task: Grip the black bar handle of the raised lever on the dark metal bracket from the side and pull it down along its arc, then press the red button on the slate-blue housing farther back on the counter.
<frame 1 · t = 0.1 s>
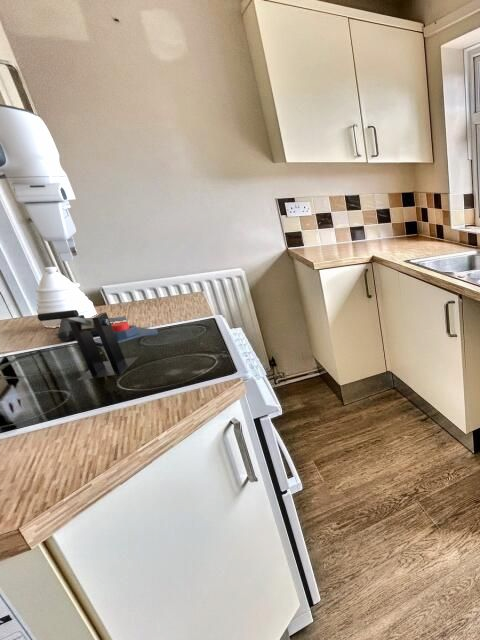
hand: (70, 258, 93), 26 cm above the worktop, tool pointing down, fingers open, 8 cm apart
lever: (76, 320, 89), point 14 cm above the worktop, hinge at 26.0°
bracket: (110, 372, 98), on the worktop
button box: (125, 340, 119), on the worktop
honey pot: (72, 322, 137), on the worktop
door handle: (94, 330, 128), on the worktop
cancel button: (120, 327, 117), point 4 cm above the worktop, slide at 0.2 cm
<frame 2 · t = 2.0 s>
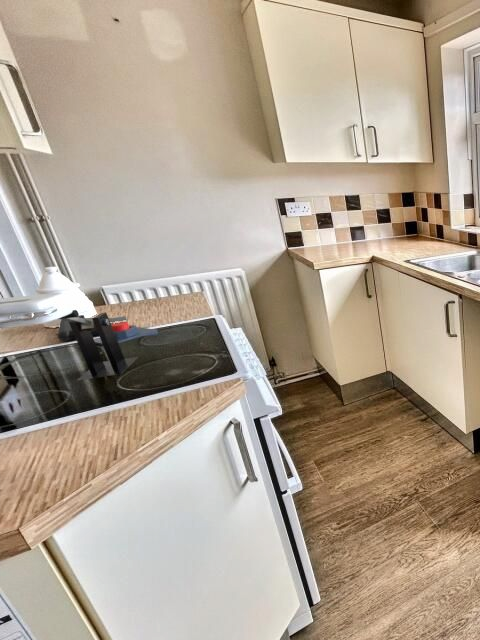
hand: (9, 303, 72), 22 cm above the worktop, tool horizontal, fingers open, 8 cm apart
nothing on the worktop moved.
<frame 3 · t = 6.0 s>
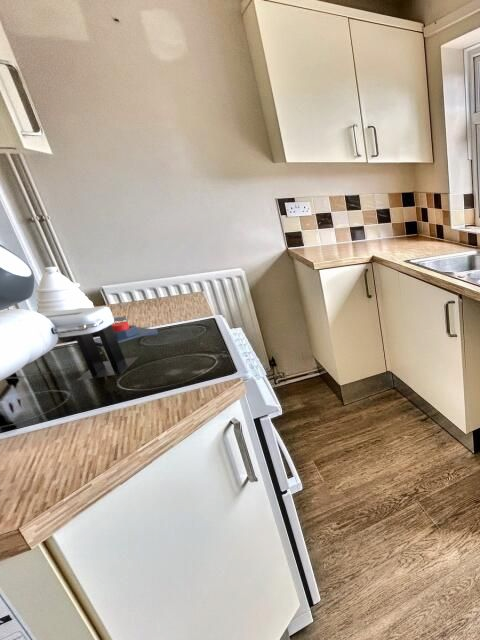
hand: (60, 314, 84), 17 cm above the worktop, tool horizontal, fingers closed on lever, 5 cm apart
lever: (76, 320, 89), point 14 cm above the worktop, hinge at 26.0°, touching gripper
everything else where it was.
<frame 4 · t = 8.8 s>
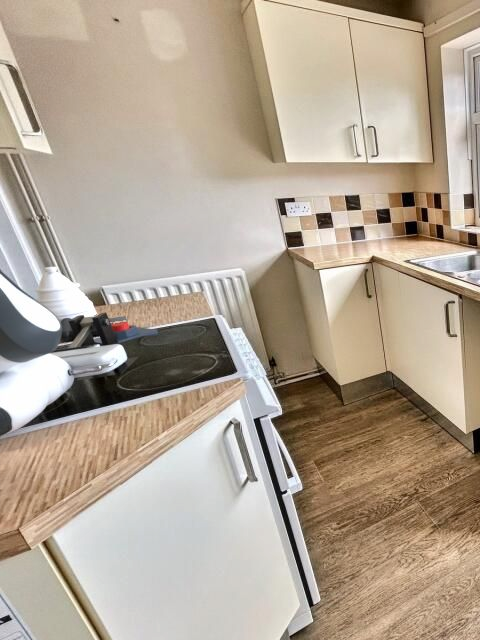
hand: (74, 351, 87), 9 cm above the worktop, tool horizontal, fingers closed on lever, 5 cm apart
lever: (82, 336, 90), point 11 cm above the worktop, hinge at -13.7°, touching gripper
everything else where it was.
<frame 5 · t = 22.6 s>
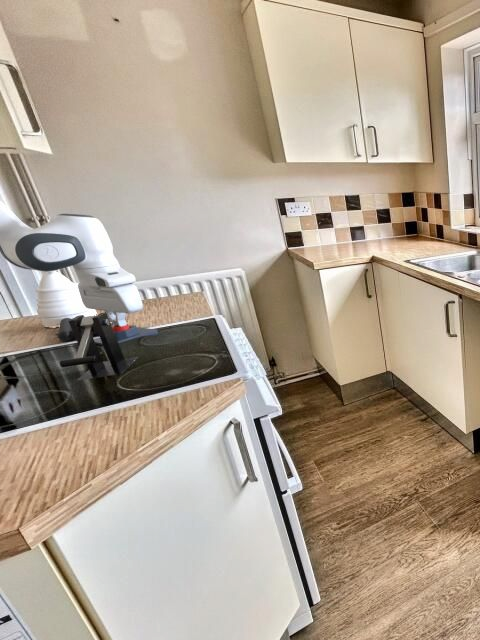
hand: (120, 325, 117), 4 cm above the worktop, tool pointing down, fingers closed, pressing on cancel button
lever: (85, 340, 91), point 10 cm above the worktop, hinge at -28.6°
cancel button: (121, 328, 117), point 4 cm above the worktop, slide at -0.4 cm, touching gripper
everything else where it was.
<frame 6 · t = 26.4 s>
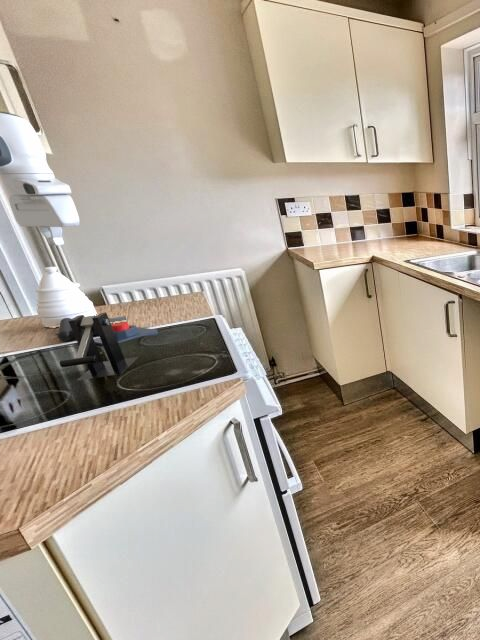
hand: (57, 244, 107), 27 cm above the worktop, tool pointing down, fingers closed
cancel button: (120, 327, 117), point 4 cm above the worktop, slide at 0.1 cm
everything else where it was.
at the end: lever at -29° (first picture: +26°); cancel button pushed in 1.0 cm at the most during the clip, back to where it started at the end; cancel button slide at 0.1 cm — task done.
